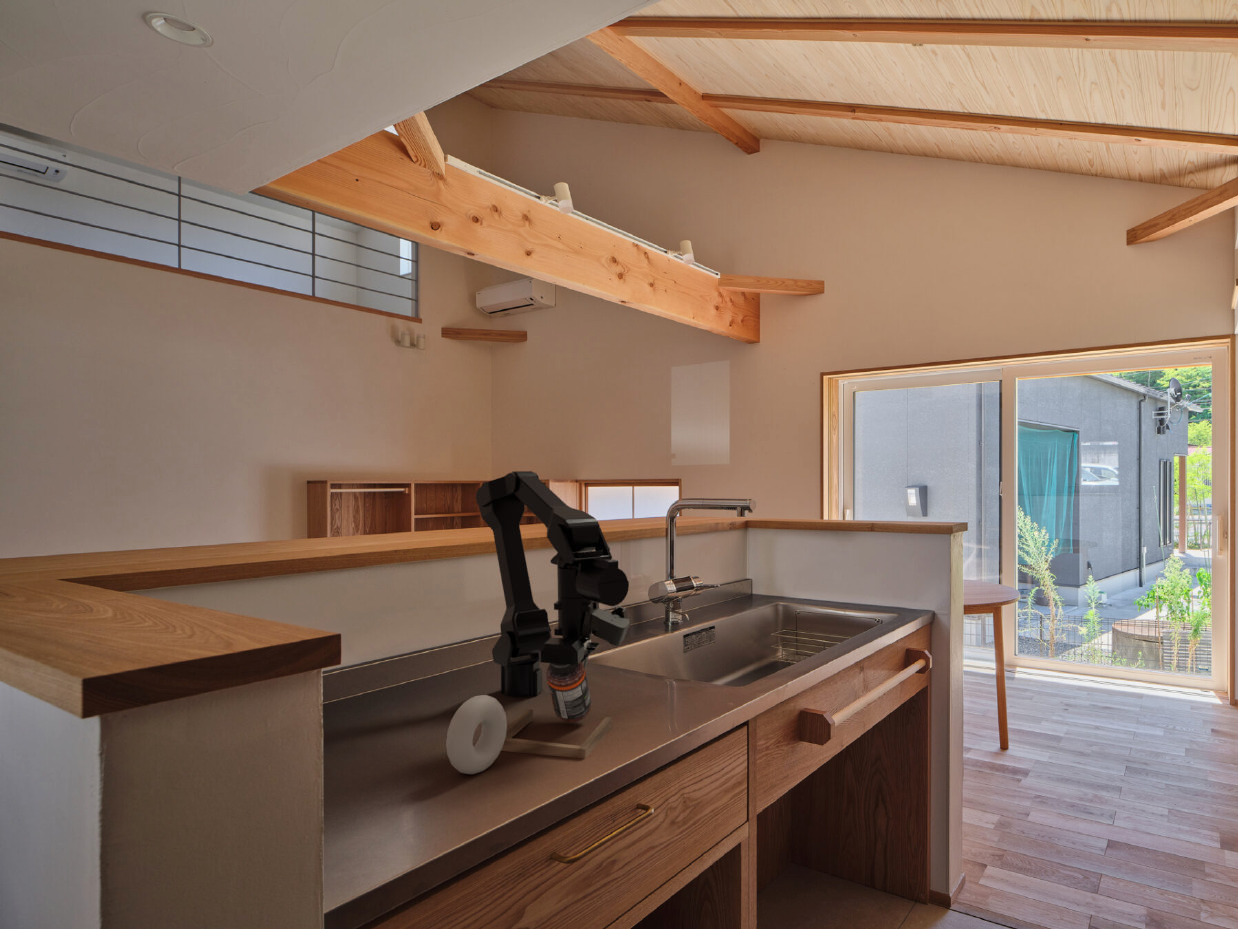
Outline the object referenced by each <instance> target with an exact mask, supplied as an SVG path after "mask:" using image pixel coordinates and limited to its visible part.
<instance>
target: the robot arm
mask: <svg viewBox="0 0 1238 929" xmlns="http://www.w3.org/2000/svg"><path fill="white" fill-rule="evenodd" d="M475 501H476V504H477V505H478V509H479V512H480V516H481V519H482V520H483V521H484V522H485V524H486V525H487V526H488V527H489V528H490V529H491V530H492V534H493V538H494V544H495V545H494V546H495V550H496V556H497V562H498V566H499V573H500V579H501V583H502V584H501V585H502V591H503V595H504V601H505V607H506V609H505V611H504V613H503V616H502V619H501V622H500V624H499V627H500V637H499V638H498V640H497V641H496V643H495V644H494V645H493V647H492V649H491V654H492V660H493V663H494V664H498V665H500V694H502V695H505V696H506V697H512V698H527V697H531V698H532V697H537V696H538V695H539V694H540V693H542V692H544V688H543V668H541V667H540V664H541V663H543V664H544V663H545V664H546V663H547V664H550V663H556V664H570V665H574V664H578V663H579V662H580V661H581V662H582V663H583V666H584V669H585V670H586V668H587V665H588V660H589V658H590V655H591V654H592V653H593V652H594V651H595V650H596V649H597V648H598V647H599V645H600V643H599V642H594V641H593V642H592V636H595V637H597V638H598V639H601V640H603V641H606V642H608V643H609V644H610V645H612V646H617V647H618V646H620V645H621V643H622V642H623V641H624V640H625V636H626V634H627V632H628V629H629V628H630V625H631V624H630V621H631V619H630V617H629V618H628V614H627V609H626V608H625V607H623V606H621V605H620V604H621V603H622V602H624V600H625V599H626V597H627V595H628V592H629V587H630V583H629V580H628V577H627V575H626V573H625V572H624V571H623V570H622V569H620V568H619V560H617V559H613V556H612V553H611V548H610V546H609V544H608V543H607V540H606V538H605V536H604V534H603V531H602V528H601V526H600V524H599V521H598V520H597V518H595V517H594V516H592V515H591V514H590V513H587V512H586V511H583V510H580V509H577V508H573V507H570V506H569V505H568V504H566V503H565V502H564V501H563V500H562V499H561V498H560V497H559V496H558V495H557V494H556V493H555V492H553V490H551V489H550V487H549V486H547V485H546V484H545V483H544V482H543V481H542V480H540V477H539V475H538V473H537V472H534V471H532V470H526V471H525V470H524V471H523V470H519V471H518V470H517V471H516V470H514V471H511V472H509V473H507V474H506V475H504V476H501V477H498V478H495V479H492V480H489V481H485V482H483V483H482V484H481V485H480V487H479V488H478V489H477V490H476V494H475ZM526 508H527V509H529V511H530V512H531V513H532V514H533V515H534V516H535V517H536V518H538V520H539V521H540V522H541V523H542V524H543V525H544V526H545V528H546V538H547V539H548V541H549V542H550V545H551V546H552V547H553V548H554V550H555V551H556V552H557V553H556V554H555V555H553V557H552V558H550V564H552V565H555V566H557V567H556V568H557V570H556V572H557V573H556V574H557V578H556V579H557V600H556V602H553V610H554V611H557V613H558V614H557V618H558V619H557V620H558V621H557V622H558V623H557V625H558V626H556V627H555V628H554V634H553V636H559V637H553V636H552V628H551V626H550V622H549V616H548V615H549V614H548V611H547V609H545V608H540V607H539V606H538V605H537V604H536V603H535V601H534V596H533V591H532V586H531V581H530V574H529V571H528V570H529V569H528V564H527V559H526V554H525V549H524V542H523V537H522V532H521V528H520V527H521V525H520V523H521V521H522V518H523V516H524V514H525V510H526ZM600 604H602V605H604V606H608V607H615V606H616V607H615V608H614V609H612V611H611V610H610V609H606V610H604V609H601V608H600ZM610 611H611V612H610Z"/></svg>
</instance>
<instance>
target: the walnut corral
mask: <svg viewBox="0 0 1238 929" xmlns="http://www.w3.org/2000/svg"><path fill="white" fill-rule="evenodd" d="M533 720H534V709H531V708H527V709H526V710H525V711H522V713H521V714H520V715H518V716H517V717H516V718H515V719H514V720H512V721H511V722H510V723H509V724H507V730H506V738H505V741H504V744H503V747H502V749H501V751H502V752H503V751H504V752H511V753H523V754H532V755H542V756H551V757H552V756H555V757H563V758H564V757H565V758H576V759H586V758H587V757H589V755H590V754H591V753H592V752H593V751H594V749H595V748H596V747H597V746H598V745H599V744H600V742H601V741H602V740H603V739H604V738H605V737H606V735H607V734H608V733H609V732H610V731H611V730H612V728H613V717H611V716H610V717H608V716H606V717H604V719H602V721H601V722H600V723H599V724H598V726H597V727H596V728H595V729H594V730H593V731H592V733H590V734H589V736H588V737H587V738H586V739H585V740H584V742H583V743H582V744H581V745H576V744H575V745H574V744H566V743H560V742H559V743H558V742H548V741H541V740H531V739H523V738H522V739H521V738H514V737H515V736H516V735H517V734H518V733H519V732H521V731H522V730H523V729H524V728H525V727H526V726H527V725H528V724H529V723H531V722H532V721H533ZM501 751H500V752H501Z"/></svg>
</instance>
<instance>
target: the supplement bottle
mask: <svg viewBox="0 0 1238 929" xmlns="http://www.w3.org/2000/svg"><path fill="white" fill-rule="evenodd" d="M545 673H546V674H545V675H546V680H547V684H548V689H549V692H550V697H551V702H552V706H553V710H554V713H555V715H556V717H557V718H558V719H559V720H560V721H563V722H565V723H575V722H579V721H582V720H583V719H585V718H586V717H587V716H588V715H589V713H590V712H591V709H592V699H591V695H590V694H591V693H590V689H589V685H588V680H587V679H588V678H587V674H586V669H584V666H583V663H582V662H581V661H580V662H579V663H578V664H574V665H570V664H556V663H549V665H547V668H546V671H545Z"/></svg>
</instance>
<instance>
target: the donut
mask: <svg viewBox="0 0 1238 929" xmlns="http://www.w3.org/2000/svg"><path fill="white" fill-rule="evenodd" d="M507 723H508V722H507V714H506V712H505V709H504V707H503V705H502V704H501V703H500V702H499V700H497V698H495V697H493V696H490V695H487V694H480V695H475V696H472V697H471V698H469V699H468V700H466V701H464V702H463V703H462V704H461V706H460V707H459V708H458V709H457V710H456V712H455V713H454V715H453V717H452V718H451V721H450V723H449V726H448V729H447V731H446V732H447V734H446V742H445V746H446V754H447V757H448V760H449V763H450V764H451V766H452V767H454V768H455V769H456V771H458V772H460V773H461V774H466V775H470V776H471V775H476V774H478V773H482V772H483V771H485V770H487V769H489V767H490V766H492V764H493V763H494V762H495V761H496V759H497V758H498V757H499V755H500V753H501V749H502V747H503V744H504V741H505V738H506V730H507V726H508V724H507ZM480 724H481V732H480V736H479V738H478V741H477V742H476V743H475V745H474V744H473V743H474V742H473V741H474V735H475V733H476V729H477V728H478V726H479V725H480Z"/></svg>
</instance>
